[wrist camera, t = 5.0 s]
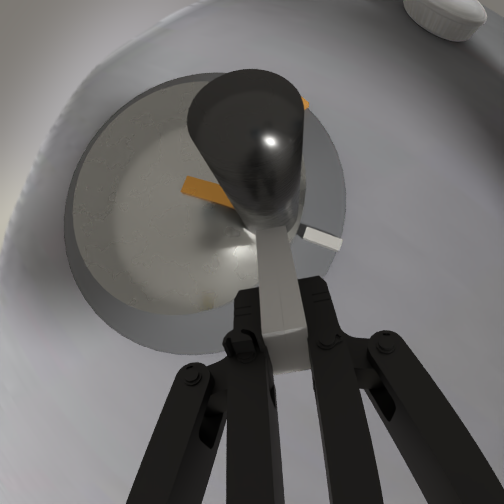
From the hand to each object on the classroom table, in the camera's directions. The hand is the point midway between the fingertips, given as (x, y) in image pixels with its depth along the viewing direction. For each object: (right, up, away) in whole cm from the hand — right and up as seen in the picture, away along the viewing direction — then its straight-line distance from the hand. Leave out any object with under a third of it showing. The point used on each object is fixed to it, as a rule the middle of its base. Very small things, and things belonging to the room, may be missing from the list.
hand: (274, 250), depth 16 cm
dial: (-6, +4, +7) cm, 10 cm away
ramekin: (+22, +29, +9) cm, 38 cm away
